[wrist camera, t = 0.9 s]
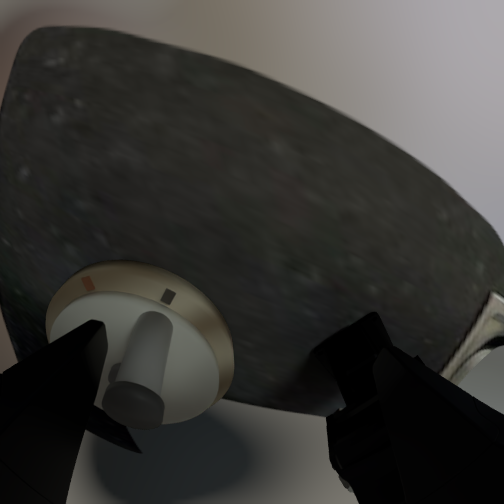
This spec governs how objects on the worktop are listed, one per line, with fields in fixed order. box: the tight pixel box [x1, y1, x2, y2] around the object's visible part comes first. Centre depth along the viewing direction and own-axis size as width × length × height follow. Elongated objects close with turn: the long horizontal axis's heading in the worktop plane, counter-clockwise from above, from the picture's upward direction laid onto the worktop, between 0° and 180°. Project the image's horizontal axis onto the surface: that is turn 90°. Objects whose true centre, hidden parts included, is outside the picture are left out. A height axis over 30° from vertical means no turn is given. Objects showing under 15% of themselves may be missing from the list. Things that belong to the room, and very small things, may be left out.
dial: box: [50, 291, 219, 430], centre depth 16 cm, size 14×14×8 cm
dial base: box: [46, 260, 234, 406], centre depth 21 cm, size 16×16×2 cm
